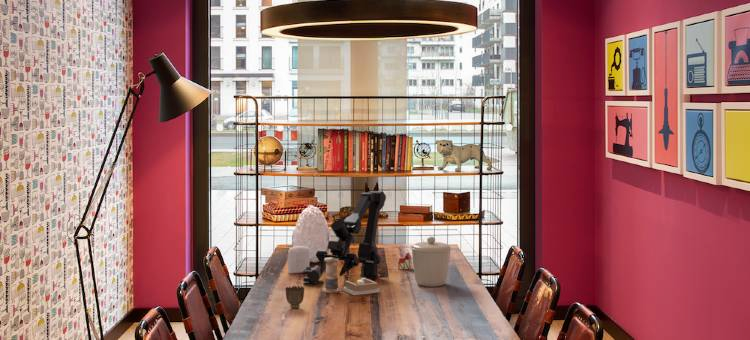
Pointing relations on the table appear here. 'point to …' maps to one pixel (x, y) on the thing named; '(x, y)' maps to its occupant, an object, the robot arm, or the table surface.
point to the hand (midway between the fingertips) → (330, 274)
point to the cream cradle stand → (361, 287)
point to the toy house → (405, 262)
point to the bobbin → (331, 275)
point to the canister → (430, 262)
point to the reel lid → (361, 281)
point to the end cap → (311, 275)
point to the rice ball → (312, 232)
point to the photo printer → (298, 259)
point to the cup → (294, 296)
